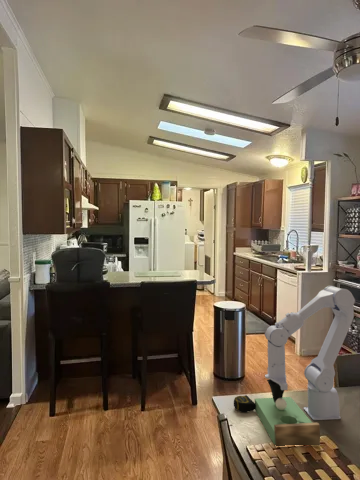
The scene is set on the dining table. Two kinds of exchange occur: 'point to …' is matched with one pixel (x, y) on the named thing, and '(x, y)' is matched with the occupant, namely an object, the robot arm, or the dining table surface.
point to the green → (279, 415)
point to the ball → (281, 404)
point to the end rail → (297, 433)
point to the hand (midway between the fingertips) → (277, 402)
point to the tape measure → (244, 404)
